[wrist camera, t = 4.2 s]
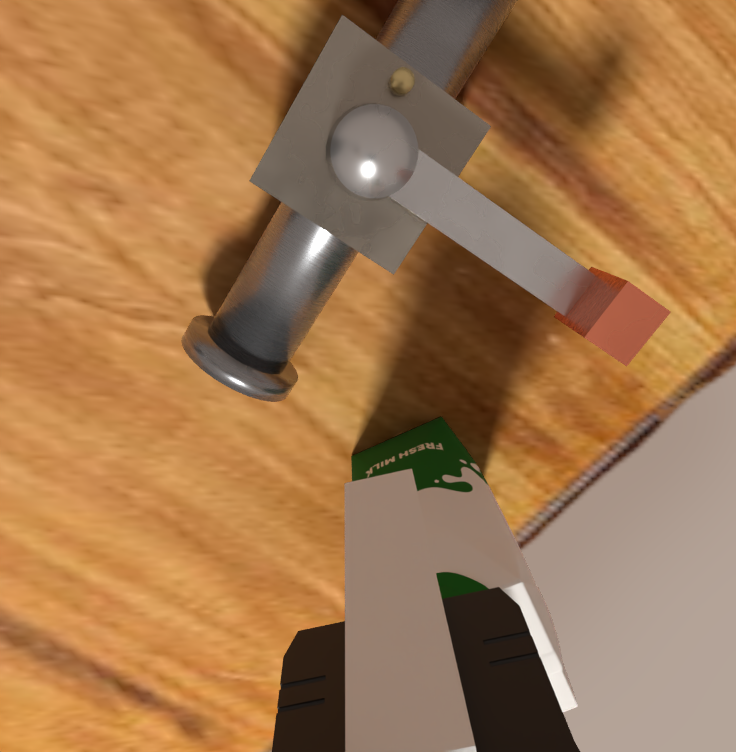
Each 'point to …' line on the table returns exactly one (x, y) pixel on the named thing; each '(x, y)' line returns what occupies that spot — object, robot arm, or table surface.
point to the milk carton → (467, 531)
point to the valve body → (329, 196)
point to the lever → (489, 231)
